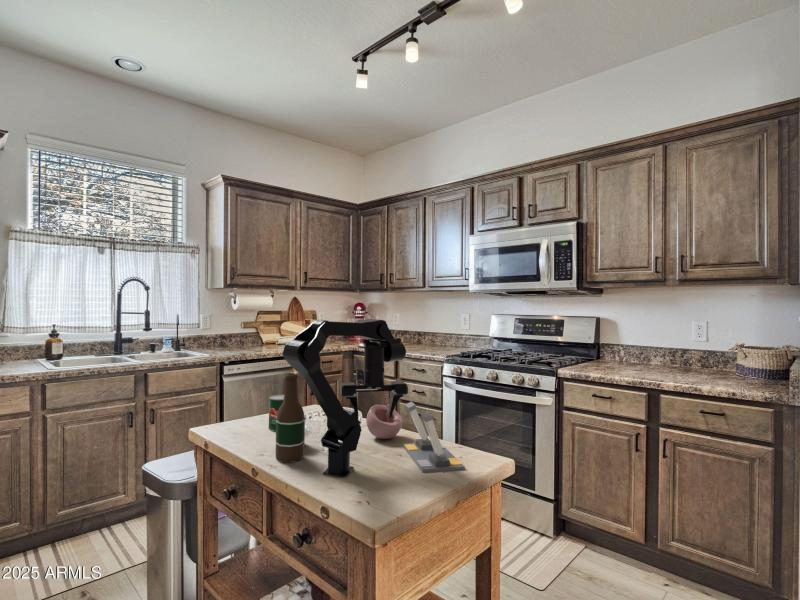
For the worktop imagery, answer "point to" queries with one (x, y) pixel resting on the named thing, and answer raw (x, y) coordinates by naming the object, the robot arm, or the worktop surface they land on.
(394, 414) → the mortar and pestle
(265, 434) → the worktop surface
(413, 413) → the lever rear
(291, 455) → the beer bottle
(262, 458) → the worktop surface
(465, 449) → the worktop surface
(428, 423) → the lever front
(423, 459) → the switch base
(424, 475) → the worktop surface
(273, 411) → the canned tomato
